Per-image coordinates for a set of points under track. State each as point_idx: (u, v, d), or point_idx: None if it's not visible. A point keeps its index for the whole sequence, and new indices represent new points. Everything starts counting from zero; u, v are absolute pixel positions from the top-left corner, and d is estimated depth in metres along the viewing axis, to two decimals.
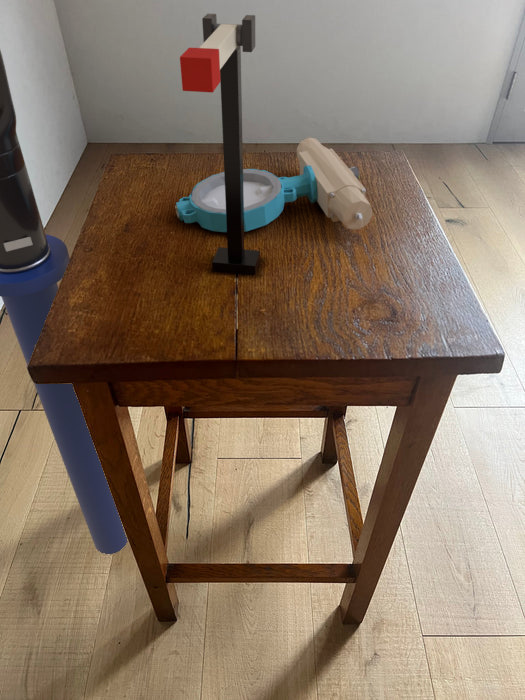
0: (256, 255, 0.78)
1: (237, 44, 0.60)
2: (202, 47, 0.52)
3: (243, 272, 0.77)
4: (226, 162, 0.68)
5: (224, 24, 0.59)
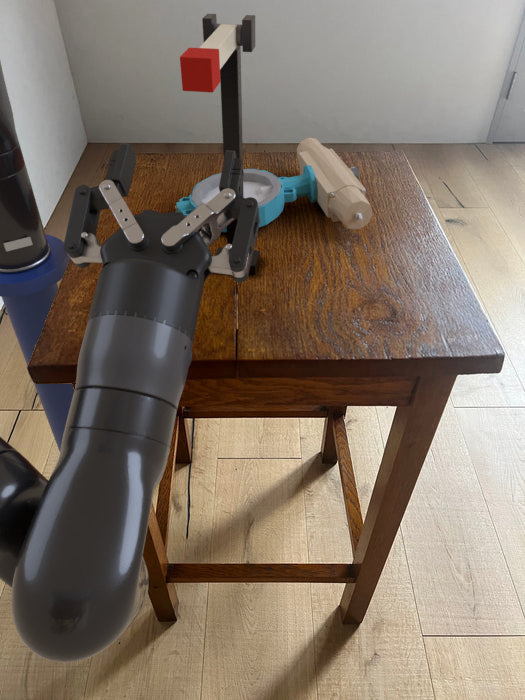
0: (256, 255, 0.78)
1: (237, 44, 0.60)
2: (202, 47, 0.52)
3: None
4: None
5: (224, 24, 0.59)
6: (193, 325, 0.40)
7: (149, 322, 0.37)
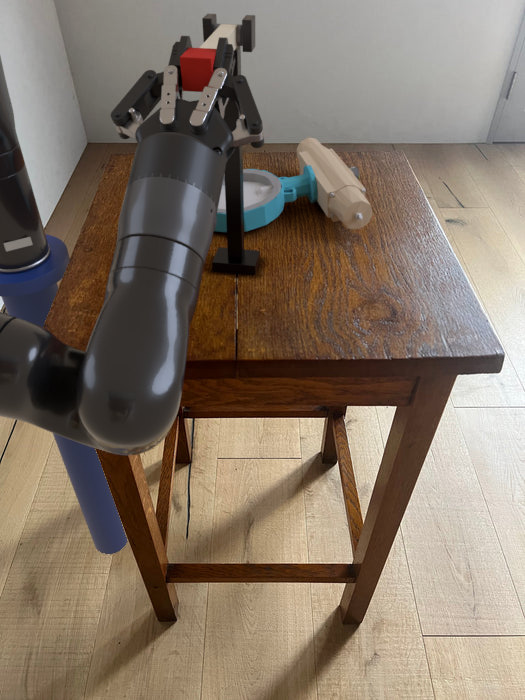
0: (256, 255, 0.78)
1: (237, 44, 0.60)
2: (202, 47, 0.52)
3: (243, 272, 0.77)
4: None
5: (224, 24, 0.59)
6: (217, 194, 0.46)
7: (181, 183, 0.43)
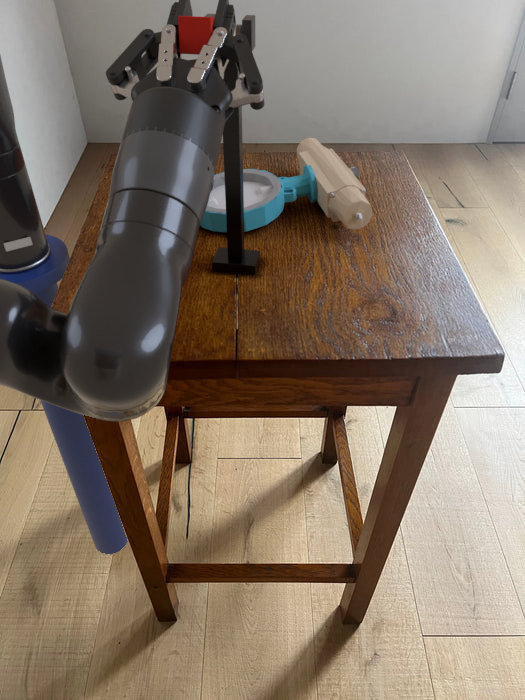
0: (256, 255, 0.78)
1: None
2: None
3: (243, 272, 0.77)
4: (226, 162, 0.68)
5: None
6: (215, 153, 0.44)
7: (177, 137, 0.41)
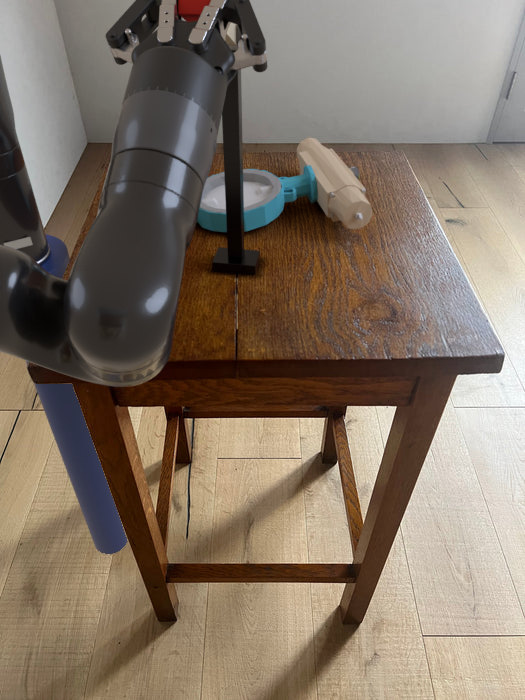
0: (256, 255, 0.78)
1: (237, 41, 0.59)
2: None
3: (243, 272, 0.77)
4: (226, 162, 0.68)
5: None
6: (218, 115, 0.43)
7: (179, 96, 0.40)
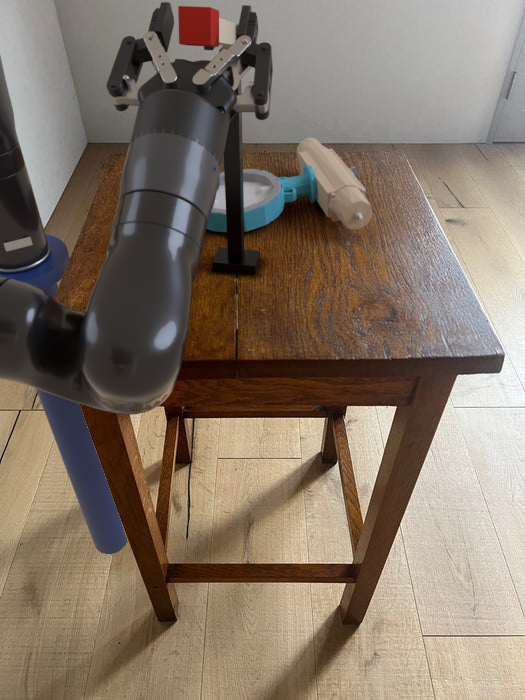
0: (256, 255, 0.78)
1: None
2: None
3: (243, 272, 0.77)
4: (226, 162, 0.68)
5: None
6: (221, 153, 0.45)
7: (184, 139, 0.42)
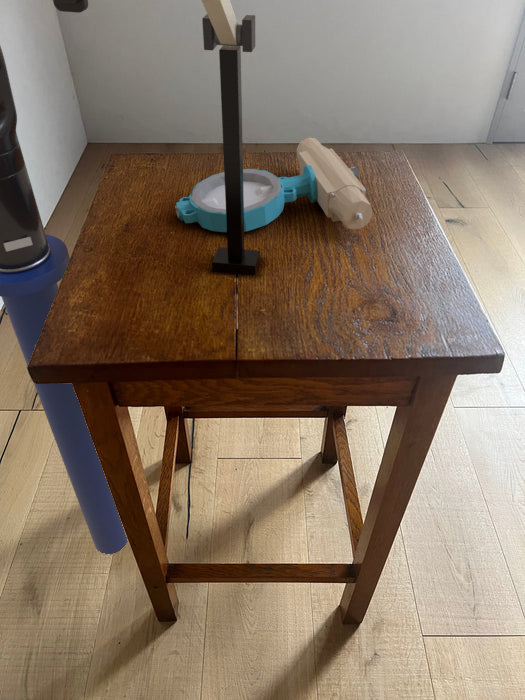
0: (256, 255, 0.78)
1: (236, 39, 0.59)
2: None
3: (243, 272, 0.77)
4: (226, 162, 0.68)
5: None
6: None
7: None
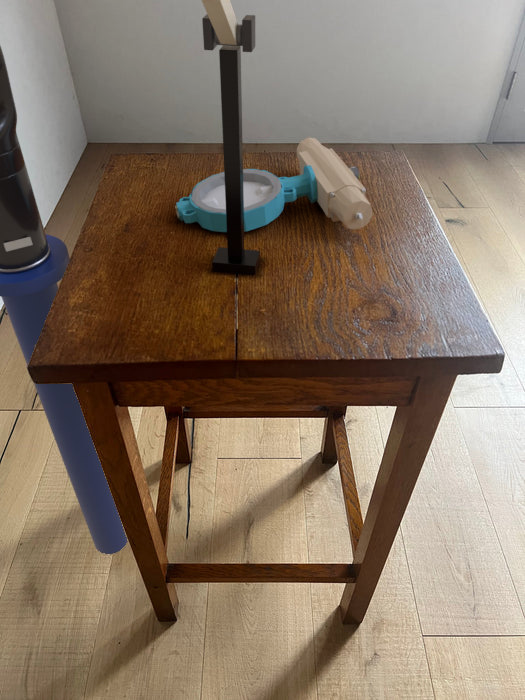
0: (256, 255, 0.78)
1: (236, 39, 0.59)
2: None
3: (243, 272, 0.77)
4: (226, 162, 0.68)
5: None
6: None
7: None
